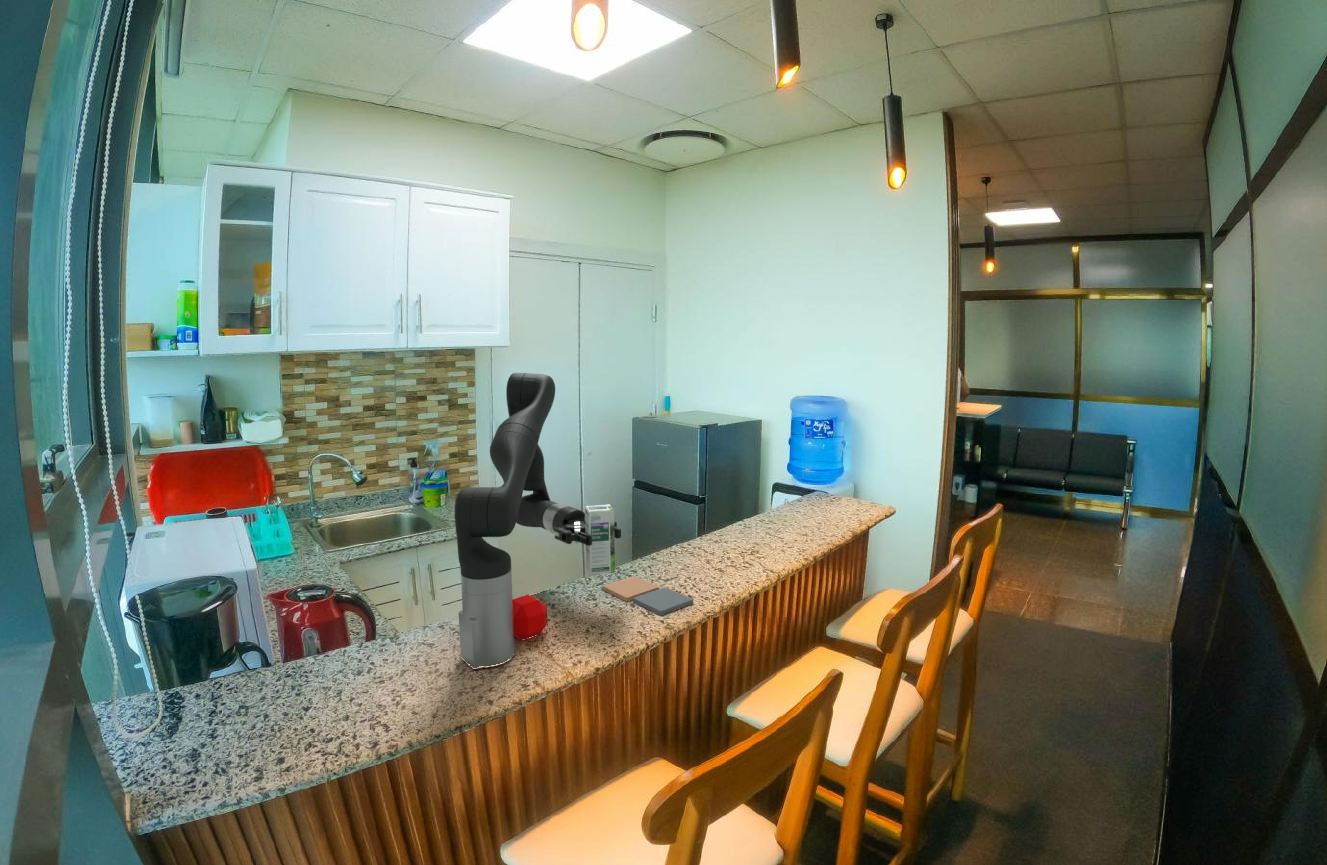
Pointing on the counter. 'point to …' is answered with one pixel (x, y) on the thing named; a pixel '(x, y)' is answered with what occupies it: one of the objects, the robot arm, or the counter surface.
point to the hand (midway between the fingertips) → (605, 537)
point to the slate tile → (663, 601)
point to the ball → (528, 616)
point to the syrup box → (600, 539)
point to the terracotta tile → (629, 588)
